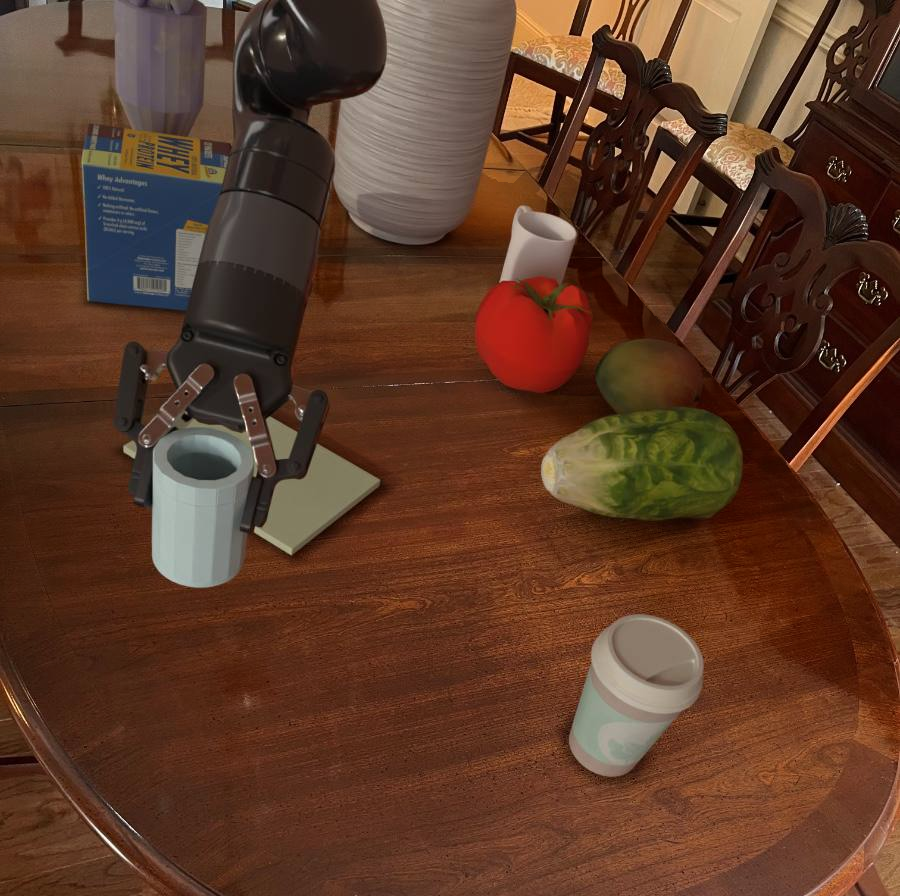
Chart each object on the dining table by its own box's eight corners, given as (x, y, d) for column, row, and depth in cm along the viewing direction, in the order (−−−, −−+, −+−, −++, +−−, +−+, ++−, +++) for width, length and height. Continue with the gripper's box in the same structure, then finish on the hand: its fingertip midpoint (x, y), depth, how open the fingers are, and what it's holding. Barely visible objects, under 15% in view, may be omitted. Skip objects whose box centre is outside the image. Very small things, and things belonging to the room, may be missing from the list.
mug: (562, 317, 130) (586, 243, 123) (508, 316, 127) (530, 239, 120) (529, 271, 138) (550, 198, 131) (477, 268, 135) (496, 193, 128)
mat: (123, 452, 93) (123, 445, 92) (222, 395, 102) (223, 389, 102) (291, 555, 88) (292, 549, 87) (379, 486, 98) (380, 479, 97)
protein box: (92, 256, 116) (86, 121, 105) (226, 271, 120) (233, 142, 109) (85, 302, 109) (79, 162, 98) (228, 316, 113) (236, 183, 102)
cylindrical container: (132, 555, 69) (131, 454, 63) (195, 514, 74) (200, 415, 67) (202, 601, 68) (208, 502, 62) (262, 556, 72) (273, 459, 66)
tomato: (494, 412, 111) (521, 320, 103) (448, 343, 120) (470, 252, 111) (594, 407, 116) (627, 319, 108) (543, 341, 125) (570, 254, 117)
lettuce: (511, 476, 103) (541, 386, 96) (677, 469, 111) (717, 385, 103) (553, 552, 96) (589, 460, 88) (727, 538, 104) (774, 453, 96)
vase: (360, 175, 148) (400, -87, 125) (484, 221, 146) (548, -36, 123) (302, 220, 134) (335, -66, 111) (439, 272, 132) (501, -8, 109)
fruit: (664, 463, 111) (698, 389, 104) (566, 415, 114) (593, 339, 107) (695, 420, 119) (729, 348, 112) (603, 376, 122) (631, 303, 115)
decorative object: (155, 226, 124) (156, -47, 103) (101, 192, 127) (91, -79, 107) (216, 209, 131) (229, -51, 110) (163, 176, 134) (165, -81, 113)
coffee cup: (558, 786, 76) (608, 689, 68) (547, 700, 82) (592, 601, 74) (662, 796, 78) (723, 703, 70) (643, 711, 84) (698, 615, 76)
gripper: (134, 231, 62) (70, 487, 62) (356, 290, 63) (294, 542, 63) (160, 271, 70) (103, 499, 69) (359, 323, 71) (303, 548, 70)
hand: (194, 519), depth 66 cm, fingers closed on cylindrical container, 6 cm apart
